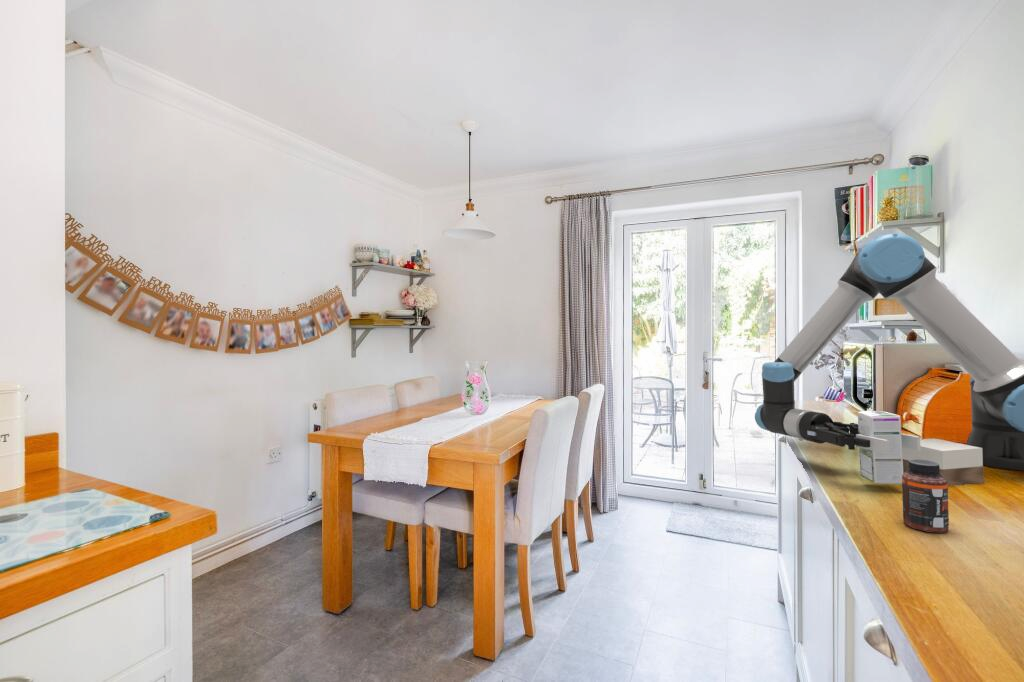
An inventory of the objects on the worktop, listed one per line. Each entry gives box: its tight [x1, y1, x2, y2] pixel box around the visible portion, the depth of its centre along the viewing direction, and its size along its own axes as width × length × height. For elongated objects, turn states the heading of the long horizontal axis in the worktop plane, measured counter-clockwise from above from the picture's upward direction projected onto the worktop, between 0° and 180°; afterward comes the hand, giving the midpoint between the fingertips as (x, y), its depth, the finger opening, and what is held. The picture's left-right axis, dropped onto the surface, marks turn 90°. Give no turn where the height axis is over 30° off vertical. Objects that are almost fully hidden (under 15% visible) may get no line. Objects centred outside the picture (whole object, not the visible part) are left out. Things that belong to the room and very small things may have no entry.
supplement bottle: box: [901, 460, 950, 534], centre depth 80 cm, size 6×6×11 cm
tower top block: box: [902, 437, 984, 469], centre depth 105 cm, size 10×10×4 cm
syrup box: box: [857, 410, 903, 485], centre depth 100 cm, size 6×6×14 cm
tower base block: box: [903, 459, 985, 487], centre depth 105 cm, size 10×10×4 cm
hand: (903, 445), depth 95 cm, fingers closed on syrup box, 7 cm apart
